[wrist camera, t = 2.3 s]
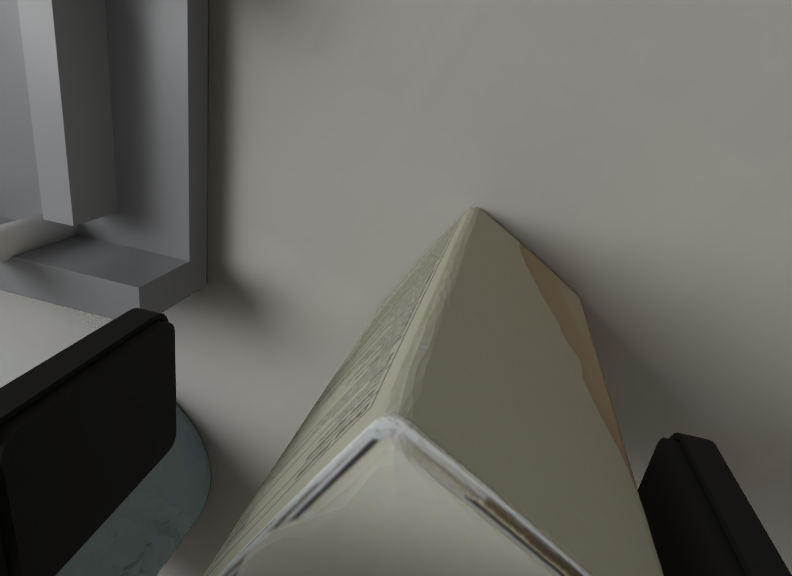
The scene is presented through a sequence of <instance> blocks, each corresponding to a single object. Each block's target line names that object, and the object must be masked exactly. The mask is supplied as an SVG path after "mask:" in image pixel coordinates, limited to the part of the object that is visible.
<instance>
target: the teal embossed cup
mask: <svg viewBox="0 0 792 576" xmlns="http://www.w3.org/2000/svg"><path fill="white" fill-rule="evenodd" d="M176 429H177V432H176V438H175V441H174V444H173V446H172V448H171V449H170V451H169V452H168V453H167V454H166V455H165V456H164V457H163V459H162V460H161V461H160V462H159V463H158V464H157V465H156V466H155V467H154V468H153V469H152V471H151V472H150V473H149V474H148V475H147V476H146V477H145V478H144V479H143V480H142V482H141V483H140V484H139V485H138V486H137V487H136V488H135V489H134V490H133V491H132V492H131V494H130V495H129V496H128V497H127V498H126V499H125V500H124V501H123V502H122V503H121V505H120V506H119V507H118V508H117V509H116V510H115V511H114V512H113V513H112V514H111V515H110V517H109V518H108V519H107V520H106V521H105V522H104V523H103V524H102V525H101V526H100V528H99V529H98V530H97V531H96V532H95V533H94V534H93V535H92V536H91V537H90V538H89V540H88V541H87V542H86V543H85V544H84V545H83V546H82V547H81V548H80V549H79V551H78V552H77V553H76V554H75V555H74V556H73V557H72V558H71V559H70V560H69V561H68V563H67V564H66V565H65V566H64V567H63V568H62V569H61V570H60V571H59V572H58V574H57V575H56V576H157V574H158V572H159V570H160V569H161V568H162V567H163V565H164V564H165V563H166V562H167V560H168V559H169V558H170V556H171V554H172V552H173V551H174V550H175V549H176V548H177V547H178V545H179V544H180V542H181V540H182V538H183V537H184V536H185V534H186V533H187V532H188V531H189V530H190V528H191V527H192V525H193V524H194V522H195V521H196V519H197V518H198V516H199V515H200V513H201V511H202V509H203V507H204V505H205V502H206V499H207V496H208V493H209V489H210V481H211V473H210V465H209V460H208V456H207V453H206V450H205V448H204V445H203V443H202V440H201V438H200V436H199V434H198V433H197V431H196V429H195V428H194V426H193V424H192V423H191V422H190V420H189V419H188V418H187V416H186V415H185V414H184V412H183V411H182V410H181V409H180V408H179V407H178V405H177V404H176Z"/></svg>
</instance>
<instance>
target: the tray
mask: <svg viewBox="0 0 792 576" xmlns="http://www.w3.org/2000/svg"><path fill="white" fill-rule="evenodd" d="M207 128H208V0H0V290H3V291H7V292H11V293H15V294H19V295H23V296H27V297H30V298H34V299H38V300H42V301H46V302H50V303H54V304H57V305H61V306H65V307H69V308H73V309H77V310H81V311H85V312H88V313H92V314H96V315H100V316H104V317H108V318H112V319H116V318H117V317H119V316H121V315H122V314H124V313H126V312H127V311H129V310H131V309H133V308H140V309H145V310H149V311H153V312H158V313H162V312H164V311H165V310H167V309H169V308H170V307H172V306H173V305H175V304H177V303H178V302H180V301H181V300H183V299H185V298H186V297H188V296H189V295H191V294H193V293H194V292H196V291H197V290H199V289H201V288H202V287H204V286H205V285H207Z"/></svg>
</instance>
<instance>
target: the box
mask: <svg viewBox="0 0 792 576" xmlns="http://www.w3.org/2000/svg"><path fill="white" fill-rule="evenodd" d="M203 576H664V575H663V572H662V568H661V565H660V562H659V559H658V556H657V552H656V549H655V546H654V543H653V540H652V536H651V533H650V529H649V525H648V522H647V519H646V516H645V512H644V509H643V506H642V504H641V501H640V497H639V493H638V490H637V487H636V483H635V480H634V477H633V474H632V470H631V467H630V464H629V461H628V457H627V454H626V451H625V447H624V444H623V440H622V437H621V433H620V429H619V426H618V422H617V419H616V416H615V413H614V410H613V407H612V403H611V400H610V397H609V393H608V390H607V388H606V385H605V382H604V378H603V375H602V371H601V368H600V365H599V361H598V358H597V355H596V351H595V348H594V344H593V341H592V337H591V334H590V330H589V327H588V324H587V321H586V317H585V314H584V311H583V308H582V304H581V301H580V299H579V297H578V296H577V294H576V293H575V292H573V291H572V290H571V289H570V288H569V287H568V286H567V285H566V284H565V283H564V282H563V281H562V280H561V279H560V278H559V277H558V276H556V275H555V274H554V273H553V272H552V271H551V270H550V269H549V268H548V267H547V266H546V265H545V264H544V263H542V262H541V261H540V260H539V259H538V258H537V257H536V256H535V255H534V254H532V253H531V252H530V251H529V250H528V249H527V248H526V247H525V246H523V245H522V244H521V243H520V242H519V241H518V240H517V239H515V238H514V237H513V236H512V235H511V234H510V233H508V232H507V231H506V230H505V229H504V228H503V227H501V226H500V225H499V224H498V223H497V222H495V221H494V220H493V219H492V218H491V217H490V216H488V215H487V214H486V213H485V212H484V211H482V210H481V209H480V208H478V207H474V208H471V209H469V210H468V211H467V212H466V213H465V214H464V215H463V216H462V217H461V218H460V219H459V220H458V221H457V222H456V223H455V224H454V225H453V226H452V227H451V228H450V229H449V230H448V232H447V233H446V234H445V235H444V236H443V237H442V238H441V239H440V240H439V241H438V242H437V243H436V245H435V246H434V247H433V248H432V249H431V250H430V251H429V252H428V253H427V254H426V256H425V257H424V258H423V259H422V260H421V261H420V262H419V264H418V265H417V266H416V267H415V268H414V269H413V271H412V272H411V273H410V274H409V275H408V276H407V277H406V279H405V280H404V281H403V282H402V283H401V284H400V286H399V287H398V288H397V289H396V290H395V291H394V293H393V294H392V295H391V296H390V297H389V298H388V300H387V301H386V302H385V303H384V305H383V306H382V307H381V308H380V309H379V310H378V312H377V313H376V314H375V315H374V317H373V318H372V320H371V322H370V323H369V325H368V326H367V328H366V330H365V331H364V333H363V334H362V335H361V337H360V338H359V340H358V341H357V343H356V344H355V346H354V347H353V349H352V350H351V352H350V353H349V355H348V356H347V358H346V360H345V361H344V363H343V364H342V366H341V367H340V369H339V370H338V371H337V373H336V374H335V376H334V377H333V379H332V380H331V382H330V383H329V385H328V386H327V388H326V389H325V391H324V392H323V394H322V395H321V396H320V398H319V399H318V401H317V402H316V404H315V405H314V407H313V408H312V410H311V412H310V413H309V415H308V416H307V418H306V419H305V421H304V422H303V424H302V425H301V427H300V428H299V430H298V431H297V433H296V435H295V436H294V438H293V439H292V441H291V442H290V444H289V445H288V447H287V448H286V450H285V451H284V453H283V454H282V456H281V457H280V459H279V460H278V462H277V463H276V465H275V466H274V468H273V469H272V471H271V472H270V474H269V475H268V477H267V478H266V480H265V481H264V483H263V484H262V486H261V487H260V489H259V490H258V492H257V493H256V495H255V496H254V498H253V499H252V501H251V502H250V504H249V505H248V507H247V508H246V510H245V511H244V513H243V515H242V516H241V518H240V519H239V521H238V522H237V524H236V525H235V527H234V529H233V530H232V532H231V533H230V535H229V536H228V538H227V539H226V541H225V542H224V544H223V545H222V547H221V549H220V550H219V552H218V553H217V555H216V556H215V558H214V560H213V561H212V563H211V564H210V566H209V567H208V569H207V570H206V572H205V573H204V575H203Z"/></svg>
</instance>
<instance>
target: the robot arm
mask: <svg viewBox="0 0 792 576" xmlns="http://www.w3.org/2000/svg"><path fill="white" fill-rule="evenodd" d="M176 432H177V429H176V374H175V330H174V326H173V324H171V323H169V322H168V319H167V317H166V316H165V315H164V314H162V313H158V312H153V311H149V310H145V309H140V308H133V309H131V310H129V311H127V312H126V313H124V314H122V315H121V316H119V317H117V318H116V319H114V320H112V321H111V322H109V323H107V324H106V325H104V326H103V327H101V328H99V329H98V330H96V331H94V332H93V333H91V334H89V335H88V336H86V337H84V338H83V339H81V340H79V341H78V342H76V343H74V344H73V345H71V346H69V347H68V348H66V349H64V350H63V351H61V352H59V353H58V354H56V355H54V356H53V357H51V358H49V359H48V360H46V361H44V362H43V363H41V364H40V365H38V366H36V367H35V368H33V369H31V370H30V371H28V372H26V373H25V374H23V375H21V376H20V377H18V378H16V379H15V380H13V381H11V382H10V383H8V384H6V385H5V386H3V387H1V388H0V576H56V575H57V574H58V572H59V571H60V570H61V569H62V568H63V567H64V566H65V565H66V564H67V563H68V561H69V560H70V559H71V558H72V557H73V556H74V555H75V554H76V553H77V552H78V551H79V549H80V548H81V547H82V546H83V545H84V544H85V543H86V542H87V541H88V540H89V538H90V537H91V536H92V535H93V534H94V533H95V532H96V531H97V530H98V529H99V528H100V526H101V525H102V524H103V523H104V522H105V521H106V520H107V519H108V518H109V517H110V515H111V514H112V513H113V512H114V511H115V510H116V509H117V508H118V507H119V506H120V505H121V503H122V502H123V501H124V500H125V499H126V498H127V497H128V496H129V495H130V494H131V492H132V491H133V490H134V489H135V488H136V487H137V486H138V485H139V484H140V483H141V482H142V480H143V479H144V478H145V477H146V476H147V475H148V474H149V473H150V472H151V471H152V469H153V468H154V467H155V466H156V465H157V464H158V463H159V462H160V461H161V460H162V459H163V457H164V456H165V455H166V454H167V453H168V452H169V451H170V449H171V448H172V446H173V444H174V441H175V438H176ZM638 493H639V497H640V501H641V504H642V506H643V509H644V512H645V516H646V519H647V522H648V525H649V529H650V533H651V536H652V540H653V543H654V546H655V549H656V552H657V556H658V559H659V562H660V565H661V568H662V572H663V575H664V576H792V575H791V573H790V572H789V570H788V568H787V566H786V565H785V563H784V561H783V560H782V558H781V556H780V554H779V553H778V551H777V549H776V548H775V546H774V544H773V543H772V541H771V539H770V537H769V536H768V534H767V532H766V531H765V529H764V527H763V525H762V524H761V522H760V520H759V519H758V517H757V515H756V513H755V512H754V510H753V508H752V507H751V505H750V503H749V501H748V500H747V498H746V496H745V495H744V493H743V491H742V489H741V488H740V486H739V484H738V483H737V481H736V479H735V478H734V476H733V474H732V472H731V471H730V469H729V467H728V466H727V464H726V462H725V460H724V459H723V457H722V455H721V454H720V452H719V450H718V448H717V447H716V445H715V444H714V443H713V442H712V441H710V440H707V439H703V438H699V437H694V436H690V435H686V434H681V433H674V434H673V435H672V436H671V437H670V438H669V439H667V438H662V439H661V440H660V441H659V442H658V444H657V446H656V448H655V451H654V453H653V455H652V458H651V460H650V463H649V465H648V467H647V470H646V472H645V474H644V477H643V479H642V482H641V484H640V486H639V489H638Z"/></svg>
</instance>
